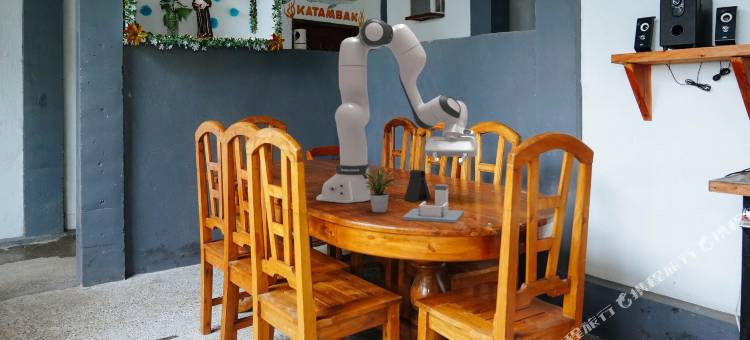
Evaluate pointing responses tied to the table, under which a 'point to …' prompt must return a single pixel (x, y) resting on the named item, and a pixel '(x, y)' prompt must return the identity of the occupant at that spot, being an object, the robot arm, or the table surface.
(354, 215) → the table surface
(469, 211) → the table surface
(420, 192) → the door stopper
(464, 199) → the table surface
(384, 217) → the table surface
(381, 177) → the house plant
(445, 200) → the cable plug
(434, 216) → the dock board
